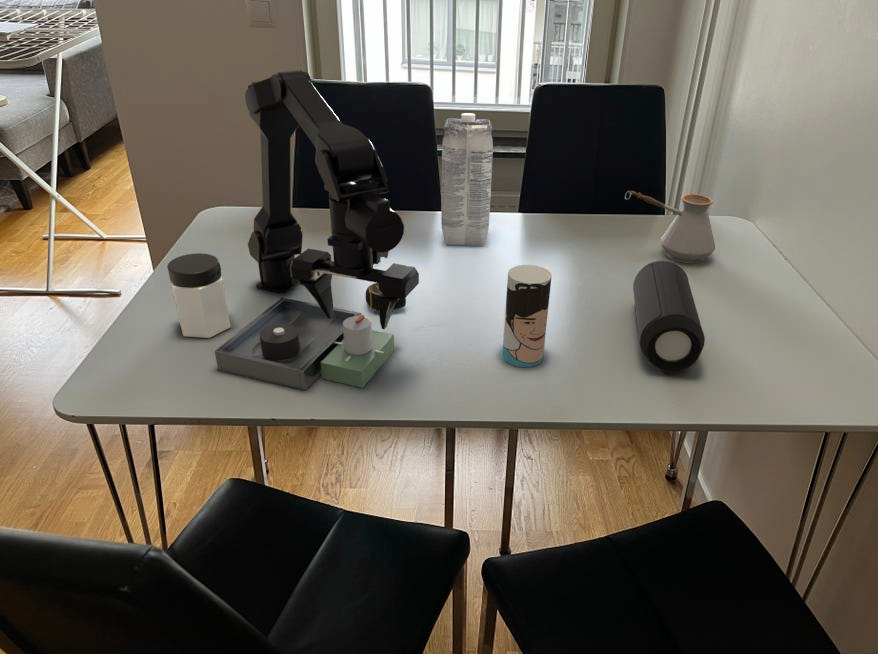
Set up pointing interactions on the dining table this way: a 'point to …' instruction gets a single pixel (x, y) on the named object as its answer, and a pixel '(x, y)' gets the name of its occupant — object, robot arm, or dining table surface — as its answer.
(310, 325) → the sink
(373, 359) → the panel
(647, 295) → the portable speaker
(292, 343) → the stopper
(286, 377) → the grey metal tray
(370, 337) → the tap knob
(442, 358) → the dining table surface
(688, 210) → the coffee pot
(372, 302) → the tape measure
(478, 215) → the juice carton
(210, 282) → the jar
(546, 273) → the cup
